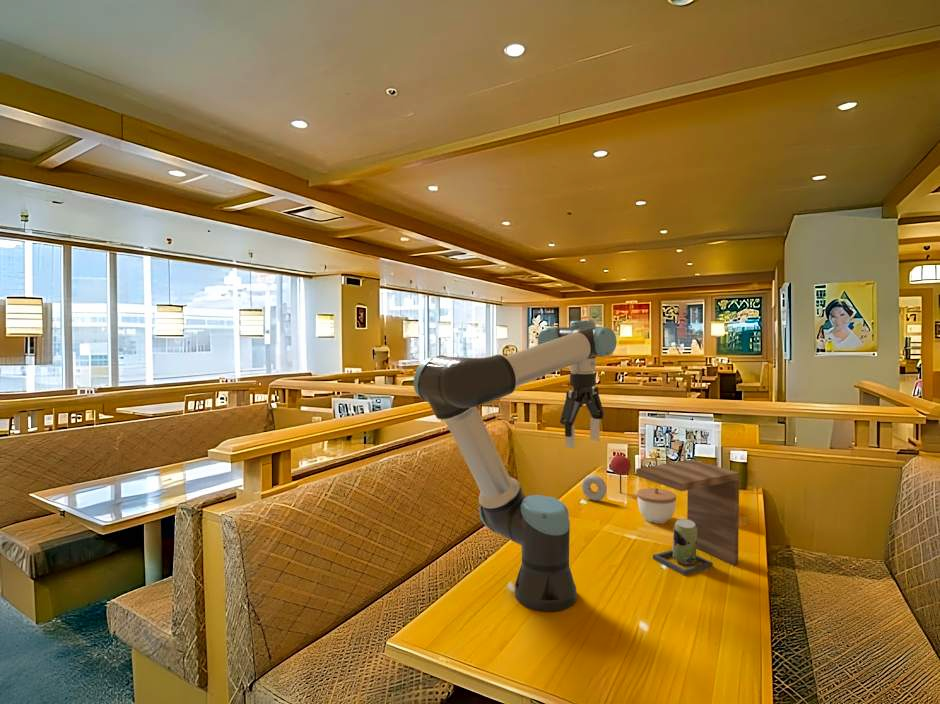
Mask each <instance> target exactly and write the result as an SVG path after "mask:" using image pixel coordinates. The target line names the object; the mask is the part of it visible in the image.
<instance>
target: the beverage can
mask: <svg viewBox="0 0 940 704" xmlns="http://www.w3.org/2000/svg"><path fill="white" fill-rule="evenodd" d="M672 537H673V538H672V539H673V541H672V550H673V556H672V558H673V559H674V560H675V561H676V562H677V563H678V564H681V565H686V566H689V565H692V564H694V563H695V562H697V561H696V555H697V549H696V546H697V527H696V526H695V523H694V522H693V521H691V520H689V519H687V518H679V519H676V521H675V523H674V524H673V536H672Z"/></svg>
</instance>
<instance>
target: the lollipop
mask: <svg viewBox="0 0 940 704" xmlns="http://www.w3.org/2000/svg"><path fill="white" fill-rule="evenodd" d="M609 466H610V470H611V471H612V472H613V473H614V474H615V475H618V476H619V493H620V494H622V476H625V475H627V474H629V472H630V471H631V468H632V465H631V461H630V460H629V458H627V456H625V455H615V456H614V457H612V459H611V461H610V464H609Z"/></svg>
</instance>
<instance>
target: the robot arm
mask: <svg viewBox="0 0 940 704" xmlns="http://www.w3.org/2000/svg"><path fill="white" fill-rule="evenodd" d="M617 342H618V340H617V335H616V333H615V331H614V330H613V329H612V328H610V327H607V326H599V325H598V326H596V322H595V321H594V320H571V321H570V323H569V326H568V327H559V326H557V327H554V326H553V327H552V326H550V327H545V328H542V330H540V331H539V332H538V335H537V345H534V346H531V347H528V348H526V349H523V350H520V351H517V352H513V353H511V354H508V355H503V354H494V355H492V356H487V357H462V356H461V357H459V356H458V357H457V356H455V357H454V356H447V355H443V354H442V355H435V356H434V355H433V356H430V357H427V358H426V359H423V361H422V362H420V363H419V364H418V366H417V368H416V370H415V372H414V375H413V389H414V392H415V394H416V395H417V396H418V397H419V398H420V399H421V400H422V401H424V402H427V403H428V405H430V408H431V410H432V412H433V414H434V416H435V417H436V419H438V420H441V421H445V424H446V427H448V430H449V432H450V434H451V435H452V436H451V437H453V439H454V441H455V443H456V446H457V447H458V449H459V452H460V454H461V456H462V458H463V460H464V462H465V463H466V465H467V467H468V469H469V471H470V473H471V475H472V477H473V479H474V482H475V484H476V485H477V487H478V490H479V491H480V493H479V495H478V502H479V507H478V514H479V518H480V520H481V522H482V523H483V525H484V526H485V527H487V528H488V529H489V530H490V531H492V532H493V533H495V534H497V535H500V536H502V537H504V538H505V539H508V540H510V541H511V542H514V543H516V544H518V545H520V546H521V565H520V567H519V571H518V574H517V576H516V580H515V582H514V583H515V584H514V596H515V599H516V600H517V601H518V602H519V603H520V604H521V605H522V606H524V607H527V608H529V609H532V610H535V611H541V612H558V611H564V610H567V609H568V608H570V607H572V606H573V605H574V604H575V603H576V602H577V585H576V584H575V583H576V582H575V580H574V578H573V573H572V570H571V567H570V534H571V533H570V529H571V527H570V526H571V521H570V516H569V510H568V507H567V505H566V504H565V503H564V502H562V501H561V500H559V499H558V498H555V497H553V496H548V495H547V496H545V495H543V494H536V495H534V494H532V495H528V496H526V495H525V493H524V491H523V489H522V487H521V485H520V482H519V481H518V480H517V479H515V478H513V477H510V474H509V473H508V471H507V469H506V466H505V465H504V462H503V460H502V458H501V455H500V454H499V452H498V450H497V447H496V446H495V443H494V441H493V439H492V437H491V435H490V433H489V431H488V429H487V427H486V425H485V422H484V420H483V418H482V416H481V413H480V411H479V409H478V407H480V406H483V405H485V404H488V403H491V402H493V401H495V400H499V399H502V398H504V397H506V396H509V395H511V394H513V393H514V392H515V391H516V388H517V387H519V386H522V385H524V384H526V383H530V382H532V381H534V380H537V379H539V378H542V377H545V376H547V375H549V374H550V375H551V374H552V373H554V372H557V371H560V370H562V369H564V368H567V367H569V371H570V372H571V373H570V374H569V385H570V386H572V388H573V390H566V394H565V395H566V396H565V401H564V404H563V405H564V406H563V409H562V413H561V417H560V419H559V424H561V425H564V435H565V436H564V437H565V441H564V442H565V448H568V449H575V447H576V428H575V427H576V426H575V425H574V423H575V421H576V418H577V417H578V414H579V411H580V409H581V407H582V406H584V405H585V407H587V410H588V412H589V414H590V416H591V418H590V419H589V420H590V421H589V422H590V424H589V426H590V427H589V429H590V430H589V433H590V434H589V436H590V438H589V439H590V440H592V441H597V442H598V441H600V420H603V419H604V415H605V413H604V409H603V405H602V402H601V398H600V394H599V387H598V386H596V384H597V377H596V376H597V375H596V373H595V372H596V368H597V366H596V365H597V360H596V357H607V356H611V355H612V354H613V353H614V351H615V350H616V348H617Z"/></svg>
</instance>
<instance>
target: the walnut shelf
mask: <svg viewBox="0 0 940 704" xmlns="http://www.w3.org/2000/svg"><path fill="white" fill-rule="evenodd" d="M699 461H700V460H694V459H687V460H686V459H685V460H681V461H674V462H668V463H663V464H656V465H650V466H646V467H639V468H636V469H635V475H636V476H637V477H638V478H642V479H644V480H648V481H650V482H653V483H656V484H659V485H662V486H665V487H667V488H670V489H674V490H677V491H679V492H685V491H687V512H686V514H687V516H686V517H687V518H686V519H689V520H691V521H693V522H694V523H695V526H696V527H697V546H696V550H697V551H700V552H702V553H704V552H705V554H706V553H707V555H708V554H709V556H711V557H713V556H714V557H713V558H715V557H716V558H715V559H717V558H718V559H717V560H719V559H720V560H719V561H721V560H722V562H723V563H726V564H728V563H729V564H728V565H730V566H732V565H733V566H732V567H737V565H738V566H739V527H740V526H739V525H740V524H739V521H740V519H739V518H740V517H739V516H740V515H739V514H740V509H739V508H740V472H739V471H734V470H732V469H728V468H723V467H720V466H717V465H713V464H710V463H705V462H702V461H701V462H699Z"/></svg>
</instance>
